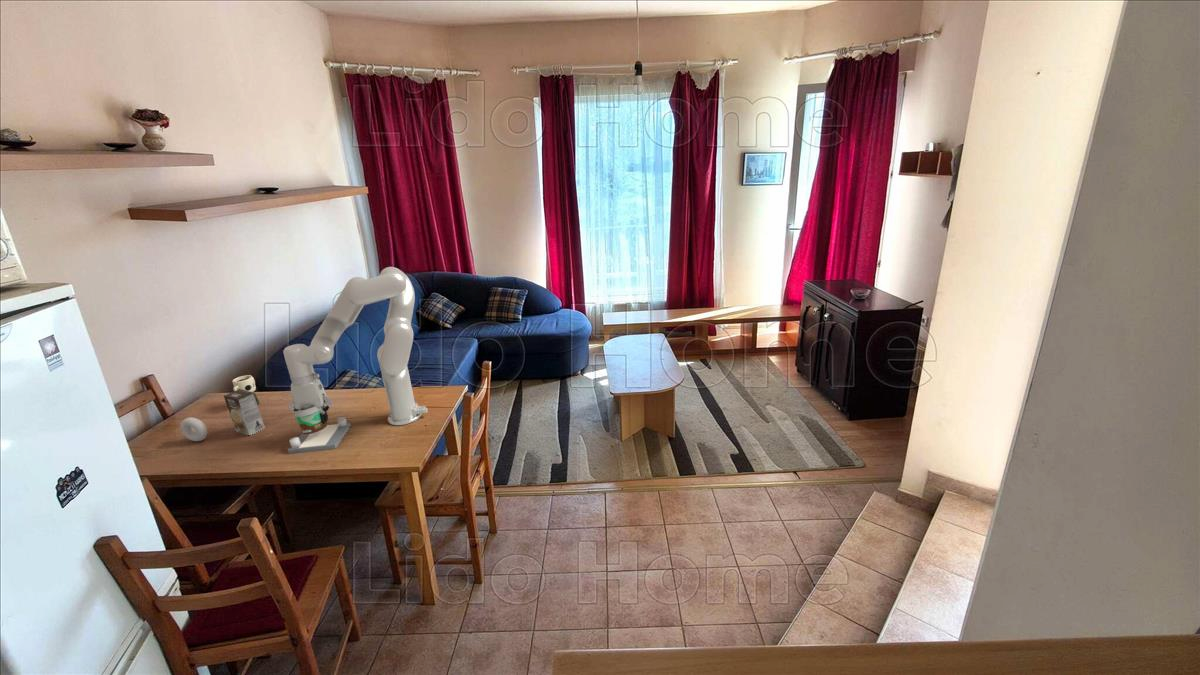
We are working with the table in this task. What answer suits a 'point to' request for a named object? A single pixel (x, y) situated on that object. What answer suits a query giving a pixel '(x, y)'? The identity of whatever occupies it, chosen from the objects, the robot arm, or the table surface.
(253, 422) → the coffee box
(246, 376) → the character mug
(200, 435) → the donut
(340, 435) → the board
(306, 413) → the food container
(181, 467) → the table surface
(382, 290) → the robot arm
